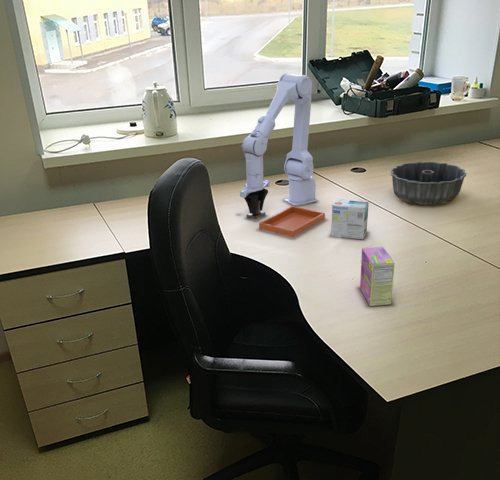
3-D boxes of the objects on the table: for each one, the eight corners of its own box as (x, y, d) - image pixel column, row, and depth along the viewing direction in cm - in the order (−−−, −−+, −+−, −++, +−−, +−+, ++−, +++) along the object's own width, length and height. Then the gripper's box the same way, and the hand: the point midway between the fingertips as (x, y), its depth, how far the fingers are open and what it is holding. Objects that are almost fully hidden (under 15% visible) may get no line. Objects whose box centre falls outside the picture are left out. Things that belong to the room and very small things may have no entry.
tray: (292, 212, 209) (292, 205, 207) (324, 220, 201) (325, 213, 200) (259, 230, 195) (258, 222, 194) (292, 238, 188) (292, 231, 187)
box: (359, 288, 158) (361, 247, 151) (379, 286, 158) (383, 246, 152) (368, 306, 149) (372, 264, 143) (391, 305, 149) (395, 262, 143)
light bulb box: (367, 232, 191) (369, 200, 185) (363, 240, 185) (366, 207, 180) (334, 229, 194) (336, 197, 188) (330, 236, 188) (331, 204, 183)
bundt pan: (381, 206, 211) (384, 178, 206) (395, 184, 232) (397, 158, 226) (458, 213, 202) (462, 185, 197) (465, 190, 223) (469, 163, 217)
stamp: (256, 214, 209) (255, 196, 205) (265, 216, 206) (265, 198, 203) (246, 218, 205) (246, 201, 202) (255, 221, 203) (255, 203, 199)
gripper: (258, 166, 204) (259, 203, 212) (232, 176, 195) (233, 215, 202) (274, 169, 201) (275, 207, 208) (248, 180, 191) (250, 219, 198)
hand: (255, 211), depth 205 cm, fingers closed on stamp, 3 cm apart
